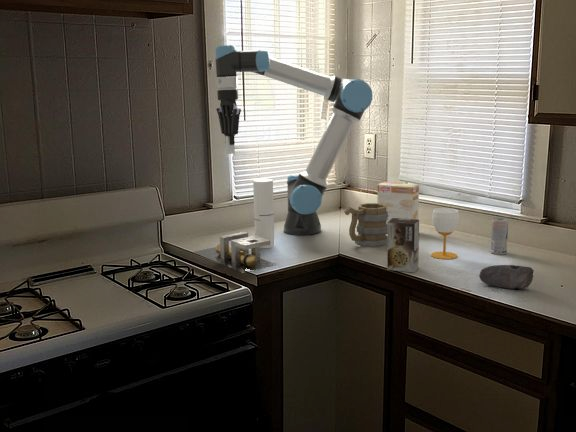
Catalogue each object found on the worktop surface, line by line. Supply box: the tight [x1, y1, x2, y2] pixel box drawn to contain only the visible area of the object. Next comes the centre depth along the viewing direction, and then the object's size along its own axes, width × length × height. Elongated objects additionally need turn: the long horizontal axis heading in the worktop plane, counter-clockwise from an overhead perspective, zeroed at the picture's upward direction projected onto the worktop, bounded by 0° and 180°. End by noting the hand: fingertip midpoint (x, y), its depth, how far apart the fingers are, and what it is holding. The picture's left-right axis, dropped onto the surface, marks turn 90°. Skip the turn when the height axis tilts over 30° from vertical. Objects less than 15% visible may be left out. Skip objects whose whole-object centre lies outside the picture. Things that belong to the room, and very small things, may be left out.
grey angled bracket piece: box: [219, 231, 250, 262], centre depth 220 cm, size 10×2×8 cm, turn 128°
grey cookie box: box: [386, 218, 420, 273], centre depth 206 cm, size 9×6×16 cm
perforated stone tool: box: [478, 264, 535, 290], centre depth 187 cm, size 15×5×7 cm, turn 61°
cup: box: [430, 207, 460, 260], centre depth 220 cm, size 9×9×16 cm
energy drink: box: [490, 217, 509, 256], centre depth 222 cm, size 5×5×12 cm
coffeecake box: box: [376, 181, 420, 234], centre depth 253 cm, size 15×7×20 cm, turn 58°
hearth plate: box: [193, 246, 278, 274], centre depth 222 cm, size 14×33×1 cm, turn 37°
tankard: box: [344, 202, 388, 247], centre depth 238 cm, size 20×13×15 cm, turn 124°
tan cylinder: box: [215, 243, 257, 267], centre depth 218 cm, size 20×4×4 cm, turn 37°
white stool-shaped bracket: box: [230, 235, 270, 267], centre depth 212 cm, size 10×8×8 cm
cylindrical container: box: [252, 178, 275, 249], centre depth 235 cm, size 7×7×25 cm
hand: (230, 153), depth 239 cm, fingers closed
